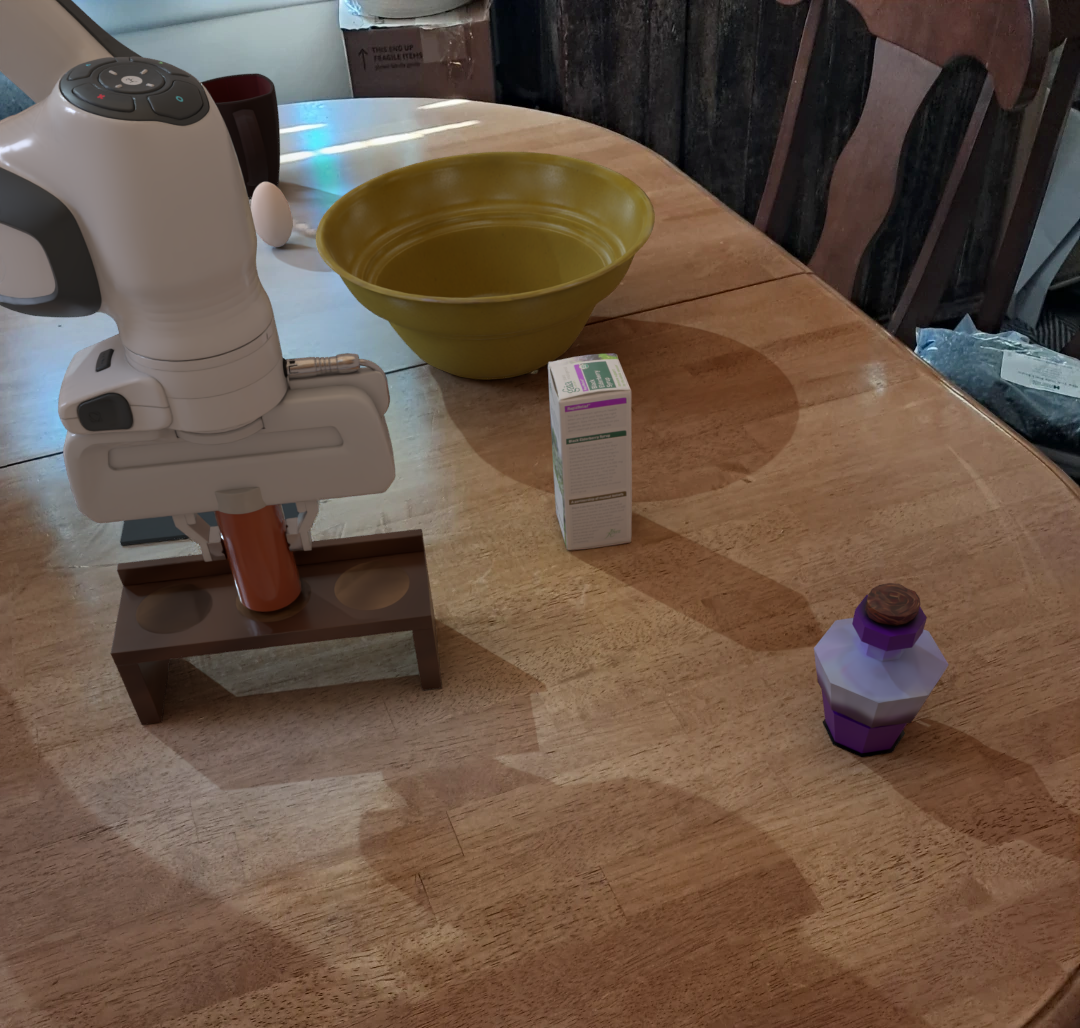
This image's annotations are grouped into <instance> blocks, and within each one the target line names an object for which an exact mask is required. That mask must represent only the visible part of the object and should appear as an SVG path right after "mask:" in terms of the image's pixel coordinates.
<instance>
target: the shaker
mask: <svg viewBox="0 0 1080 1028" xmlns="http://www.w3.org/2000/svg"><path fill="white" fill-rule="evenodd" d="M215 496H216V499H217V502H218V511H213V512H214V515H215V518H216V522H217V525H218V529H219V532H220V535H221V539H222V542H223V545H224V549H225V552H226V555H227V559H228V562H229V565H230V569H231V572H232V576H233V579H234V582H235V586H236V589H237V592H238V596H239V599H240V601H241V603H242V604H243V605H244V606H245V607H247V608H249V609H251V610H254V611H260V612H268V611H275V610H278V609H281V608H284V607H286V606H288V605H289V604H291V603H292V602H293V601H295V600H296V599H297V597H298V596H299V594H300V592H301V582H300V578H299V574H298V570H297V566H296V561H295V557H294V553H293V552H290V550H289V543H288V542H287V538H286V528H287V525H286V520H285V516H284V512H283V508H282V504H277V505H268V506H267V505H266V504H265V502H264V501H263V499H262V495H261V491H260V487H253V488H243V489H234V490H224V491H216V492H215Z"/></svg>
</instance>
